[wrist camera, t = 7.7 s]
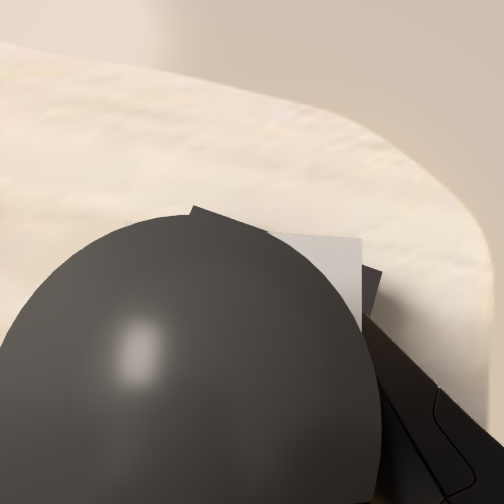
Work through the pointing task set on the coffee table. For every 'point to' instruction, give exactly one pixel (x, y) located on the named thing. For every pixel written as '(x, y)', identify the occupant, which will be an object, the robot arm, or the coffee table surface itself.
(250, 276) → the white soap bottle
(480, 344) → the coffee table surface
